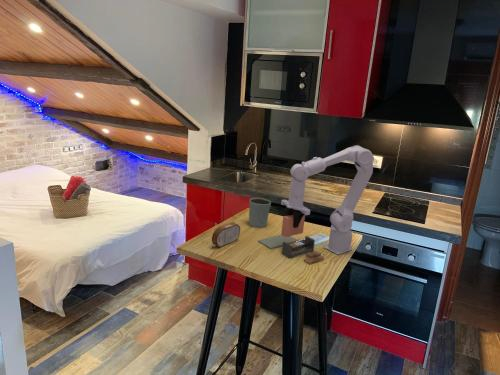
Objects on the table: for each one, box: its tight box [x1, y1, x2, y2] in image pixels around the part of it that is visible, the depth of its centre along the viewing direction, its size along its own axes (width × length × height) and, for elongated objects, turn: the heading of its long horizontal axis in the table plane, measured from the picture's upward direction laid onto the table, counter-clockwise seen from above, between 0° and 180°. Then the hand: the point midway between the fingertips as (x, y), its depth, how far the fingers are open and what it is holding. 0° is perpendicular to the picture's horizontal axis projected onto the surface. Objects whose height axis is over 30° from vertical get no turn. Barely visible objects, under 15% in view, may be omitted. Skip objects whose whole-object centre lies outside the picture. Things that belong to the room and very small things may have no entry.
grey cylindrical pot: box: [248, 197, 272, 229], centre depth 176 cm, size 10×10×12 cm
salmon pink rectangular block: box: [280, 215, 306, 237], centre depth 151 cm, size 10×2×8 cm, turn 128°
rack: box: [281, 235, 316, 259], centre depth 150 cm, size 14×5×5 cm, turn 128°
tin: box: [211, 221, 241, 248], centre depth 153 cm, size 15×3×8 cm, turn 141°
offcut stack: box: [303, 250, 325, 265], centre depth 144 cm, size 8×3×4 cm, turn 128°
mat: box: [257, 234, 299, 250], centre depth 160 cm, size 16×8×1 cm, turn 128°
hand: (293, 226), depth 151 cm, fingers closed on salmon pink rectangular block, 2 cm apart
